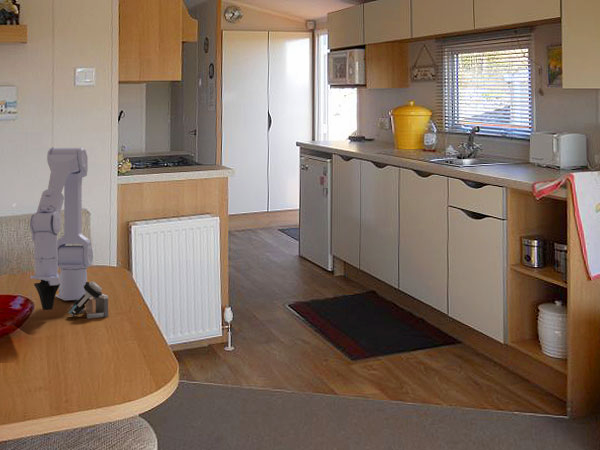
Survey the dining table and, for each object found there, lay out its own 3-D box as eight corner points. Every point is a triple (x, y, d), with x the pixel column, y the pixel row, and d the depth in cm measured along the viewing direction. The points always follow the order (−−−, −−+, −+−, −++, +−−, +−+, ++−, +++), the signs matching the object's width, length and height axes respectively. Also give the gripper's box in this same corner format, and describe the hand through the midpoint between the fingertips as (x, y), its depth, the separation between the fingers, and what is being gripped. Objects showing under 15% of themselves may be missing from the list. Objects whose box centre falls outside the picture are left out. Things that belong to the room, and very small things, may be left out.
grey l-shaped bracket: (77, 314, 196) (77, 293, 196) (97, 312, 199) (97, 291, 199) (88, 318, 189) (87, 297, 188) (108, 316, 192) (108, 295, 192)
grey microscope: (77, 322, 188) (103, 293, 188) (61, 310, 187) (87, 281, 187) (80, 317, 194) (105, 290, 195) (65, 305, 193) (90, 277, 194)
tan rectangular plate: (85, 313, 196) (85, 297, 196) (88, 313, 196) (88, 297, 196) (92, 316, 191) (92, 300, 191) (95, 316, 191) (95, 299, 191)
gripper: (23, 256, 190) (24, 307, 191) (37, 261, 178) (39, 315, 179) (50, 255, 194) (51, 304, 195) (66, 259, 182) (67, 312, 183)
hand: (47, 309), depth 187 cm, fingers closed
